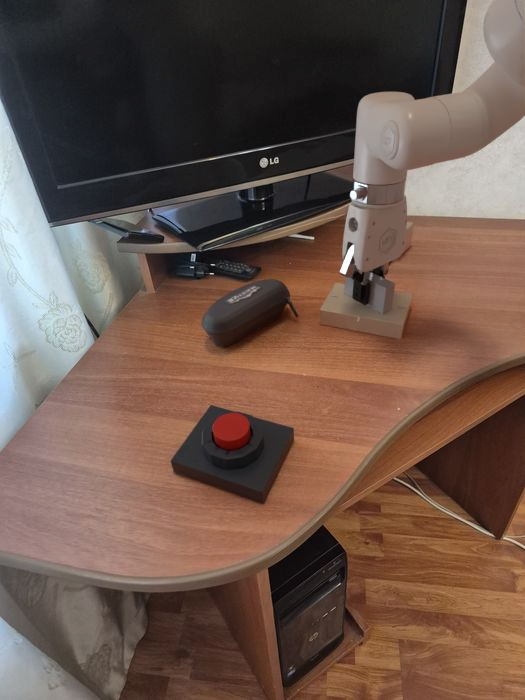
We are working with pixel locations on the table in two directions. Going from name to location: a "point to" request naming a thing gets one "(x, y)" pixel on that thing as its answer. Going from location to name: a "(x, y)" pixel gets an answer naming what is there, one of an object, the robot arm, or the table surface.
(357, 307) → the base
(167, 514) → the table surface
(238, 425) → the button
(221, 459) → the switch block
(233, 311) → the glasses case
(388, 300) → the grey red-tipped bar
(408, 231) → the power adapter
